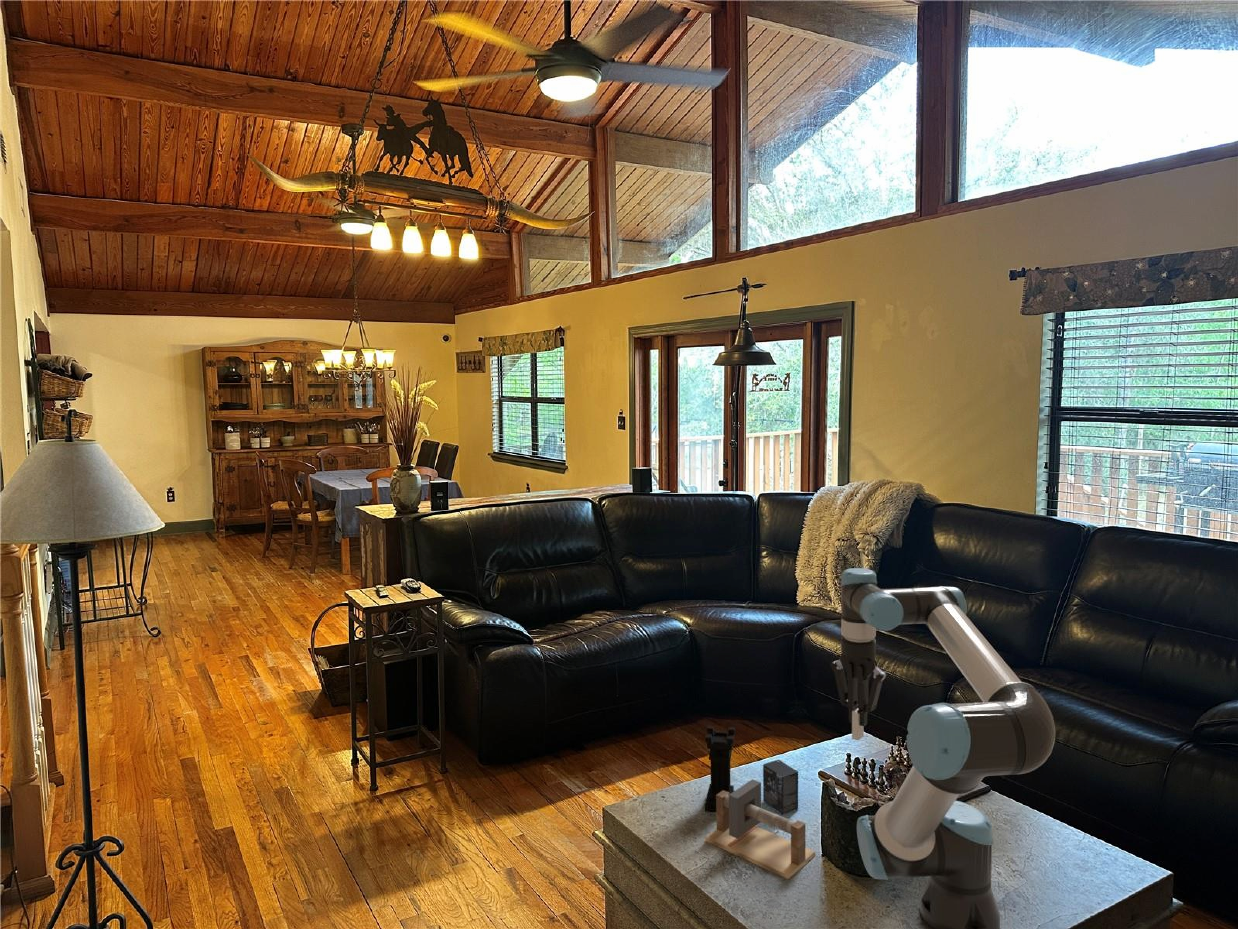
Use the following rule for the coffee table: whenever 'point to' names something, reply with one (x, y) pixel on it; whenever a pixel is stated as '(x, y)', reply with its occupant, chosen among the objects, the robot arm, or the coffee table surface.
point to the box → (780, 786)
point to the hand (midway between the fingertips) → (857, 737)
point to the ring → (737, 800)
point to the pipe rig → (762, 839)
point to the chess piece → (719, 764)
